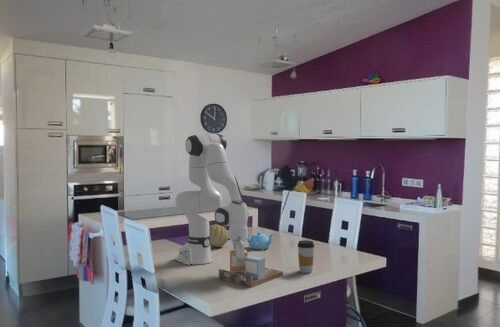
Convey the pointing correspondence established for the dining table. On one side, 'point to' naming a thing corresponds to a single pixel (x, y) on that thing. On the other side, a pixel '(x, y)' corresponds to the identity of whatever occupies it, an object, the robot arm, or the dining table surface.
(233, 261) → the terracotta carton
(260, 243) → the teapot
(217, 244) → the cantaloupe
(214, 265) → the dining table surface
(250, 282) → the shelf plank
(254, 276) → the slate-blue carton
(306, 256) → the coffee cup
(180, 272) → the dining table surface
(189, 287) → the dining table surface
